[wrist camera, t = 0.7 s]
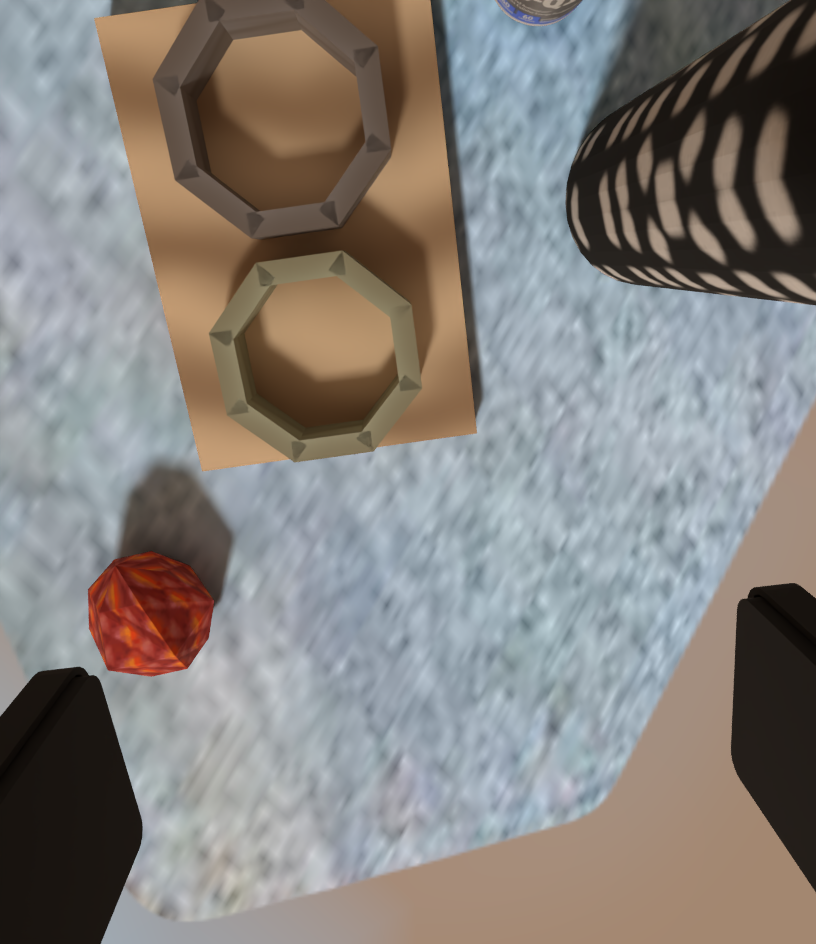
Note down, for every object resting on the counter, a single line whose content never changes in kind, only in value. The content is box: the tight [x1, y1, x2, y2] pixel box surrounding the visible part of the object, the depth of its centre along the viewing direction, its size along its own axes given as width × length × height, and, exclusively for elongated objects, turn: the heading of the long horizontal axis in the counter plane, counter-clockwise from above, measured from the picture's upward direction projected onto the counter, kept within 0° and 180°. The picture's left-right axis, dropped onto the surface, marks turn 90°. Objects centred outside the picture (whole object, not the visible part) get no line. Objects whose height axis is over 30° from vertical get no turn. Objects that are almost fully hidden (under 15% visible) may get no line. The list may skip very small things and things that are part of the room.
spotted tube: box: [566, 0, 816, 305], centre depth 23 cm, size 8×8×20 cm
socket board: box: [94, 0, 477, 471], centre depth 31 cm, size 20×14×4 cm
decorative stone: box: [88, 551, 214, 677], centre depth 36 cm, size 6×7×8 cm
